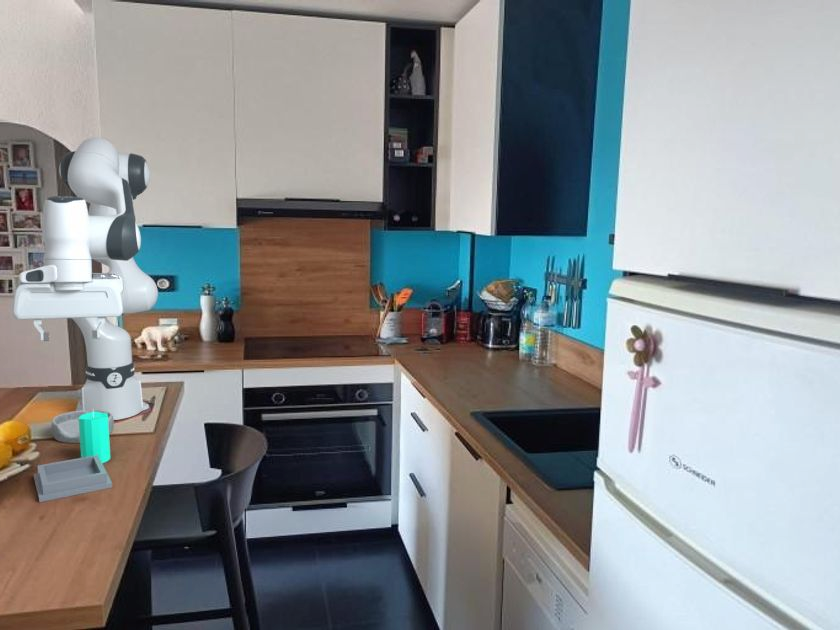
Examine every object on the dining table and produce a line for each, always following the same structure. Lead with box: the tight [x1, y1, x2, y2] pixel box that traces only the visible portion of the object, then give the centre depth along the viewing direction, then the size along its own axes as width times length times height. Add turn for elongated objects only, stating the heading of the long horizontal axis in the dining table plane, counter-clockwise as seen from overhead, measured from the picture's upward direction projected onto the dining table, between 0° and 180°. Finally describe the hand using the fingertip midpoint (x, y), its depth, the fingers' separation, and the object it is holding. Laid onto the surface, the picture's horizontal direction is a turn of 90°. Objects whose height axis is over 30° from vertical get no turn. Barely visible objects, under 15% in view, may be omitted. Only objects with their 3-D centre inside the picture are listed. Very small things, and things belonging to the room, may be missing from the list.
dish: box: [51, 409, 115, 444], centre depth 163 cm, size 14×14×5 cm
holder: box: [33, 455, 113, 503], centre depth 135 cm, size 13×13×3 cm
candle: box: [79, 412, 111, 464], centre depth 147 cm, size 6×6×12 cm
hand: (70, 339), depth 136 cm, fingers open, 8 cm apart
